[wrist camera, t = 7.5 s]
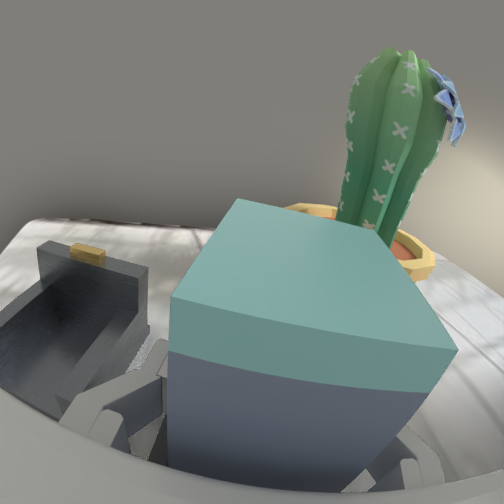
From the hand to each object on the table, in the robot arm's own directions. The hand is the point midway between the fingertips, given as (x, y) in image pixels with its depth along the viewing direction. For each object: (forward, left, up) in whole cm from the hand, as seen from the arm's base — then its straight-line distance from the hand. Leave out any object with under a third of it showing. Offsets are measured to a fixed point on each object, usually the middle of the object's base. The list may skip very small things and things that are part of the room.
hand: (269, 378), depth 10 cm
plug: (+1, 0, -7) cm, 7 cm away
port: (+2, -13, -8) cm, 15 cm away
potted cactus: (-21, -3, -8) cm, 23 cm away
